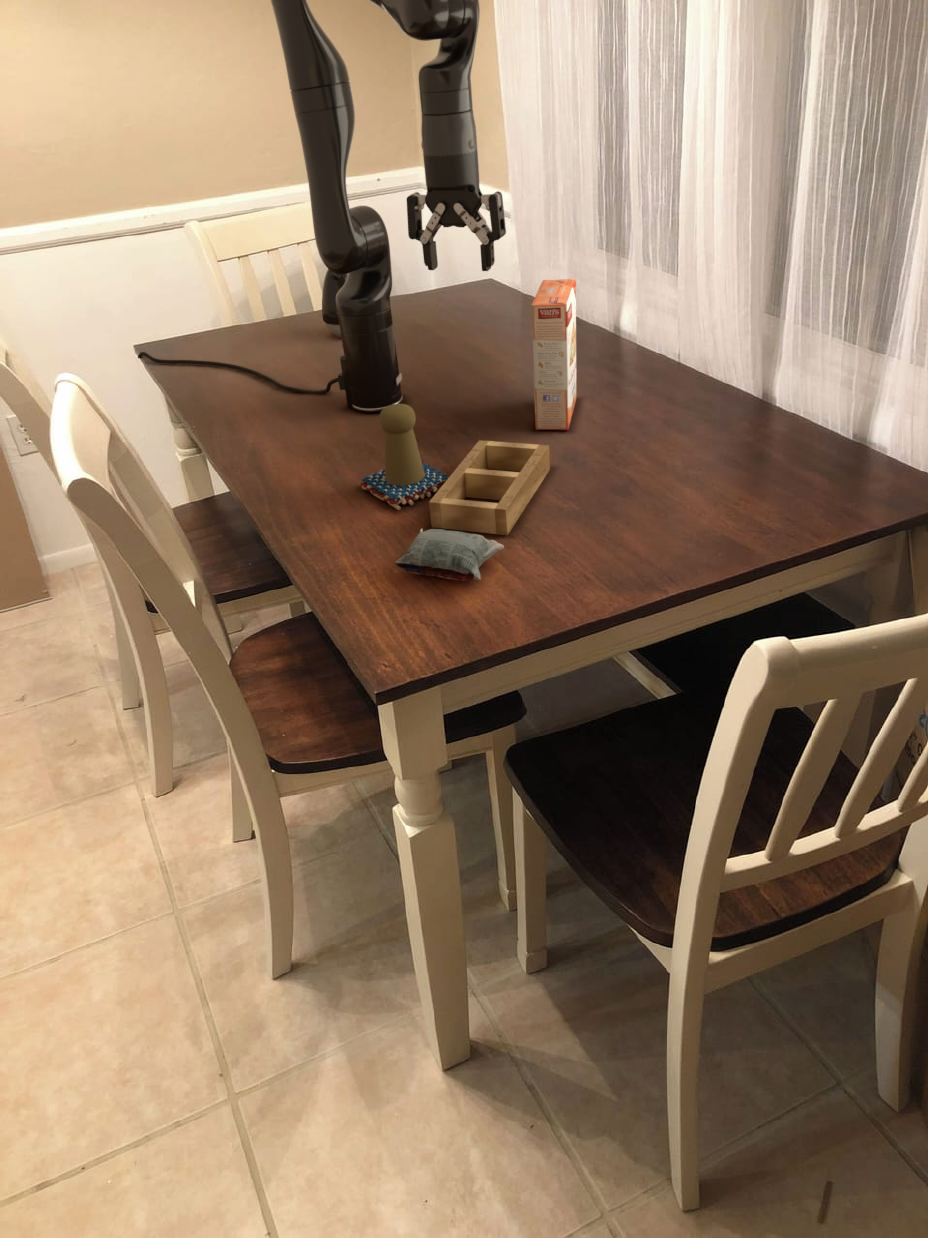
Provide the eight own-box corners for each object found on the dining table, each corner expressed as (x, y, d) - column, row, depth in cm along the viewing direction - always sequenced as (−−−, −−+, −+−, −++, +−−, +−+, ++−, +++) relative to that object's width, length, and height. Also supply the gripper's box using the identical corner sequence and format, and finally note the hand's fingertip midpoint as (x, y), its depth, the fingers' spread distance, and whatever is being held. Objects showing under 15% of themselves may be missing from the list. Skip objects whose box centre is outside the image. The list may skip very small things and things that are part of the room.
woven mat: (358, 489, 145) (356, 477, 144) (415, 467, 150) (414, 455, 149) (395, 512, 138) (393, 499, 137) (454, 488, 143) (453, 476, 141)
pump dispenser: (320, 342, 206) (308, 270, 198) (332, 326, 215) (320, 257, 206) (366, 340, 205) (355, 267, 196) (376, 325, 213) (366, 254, 205)
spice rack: (431, 527, 133) (428, 502, 131) (481, 463, 149) (479, 439, 147) (507, 535, 129) (505, 509, 127) (550, 469, 145) (549, 445, 143)
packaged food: (424, 546, 129) (420, 513, 126) (505, 558, 124) (503, 525, 122) (395, 579, 123) (390, 546, 120) (479, 594, 118) (476, 560, 115)
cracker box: (571, 431, 156) (567, 302, 144) (534, 431, 157) (528, 303, 146) (579, 399, 167) (577, 276, 156) (545, 399, 169) (540, 278, 157)
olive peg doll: (430, 469, 144) (423, 399, 138) (416, 487, 139) (407, 416, 133) (394, 466, 146) (384, 398, 140) (378, 484, 141) (368, 414, 135)
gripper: (507, 142, 131) (513, 263, 141) (413, 144, 136) (425, 261, 145) (489, 152, 126) (496, 277, 135) (391, 154, 131) (405, 275, 140)
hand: (459, 269), depth 140 cm, fingers open, 8 cm apart
